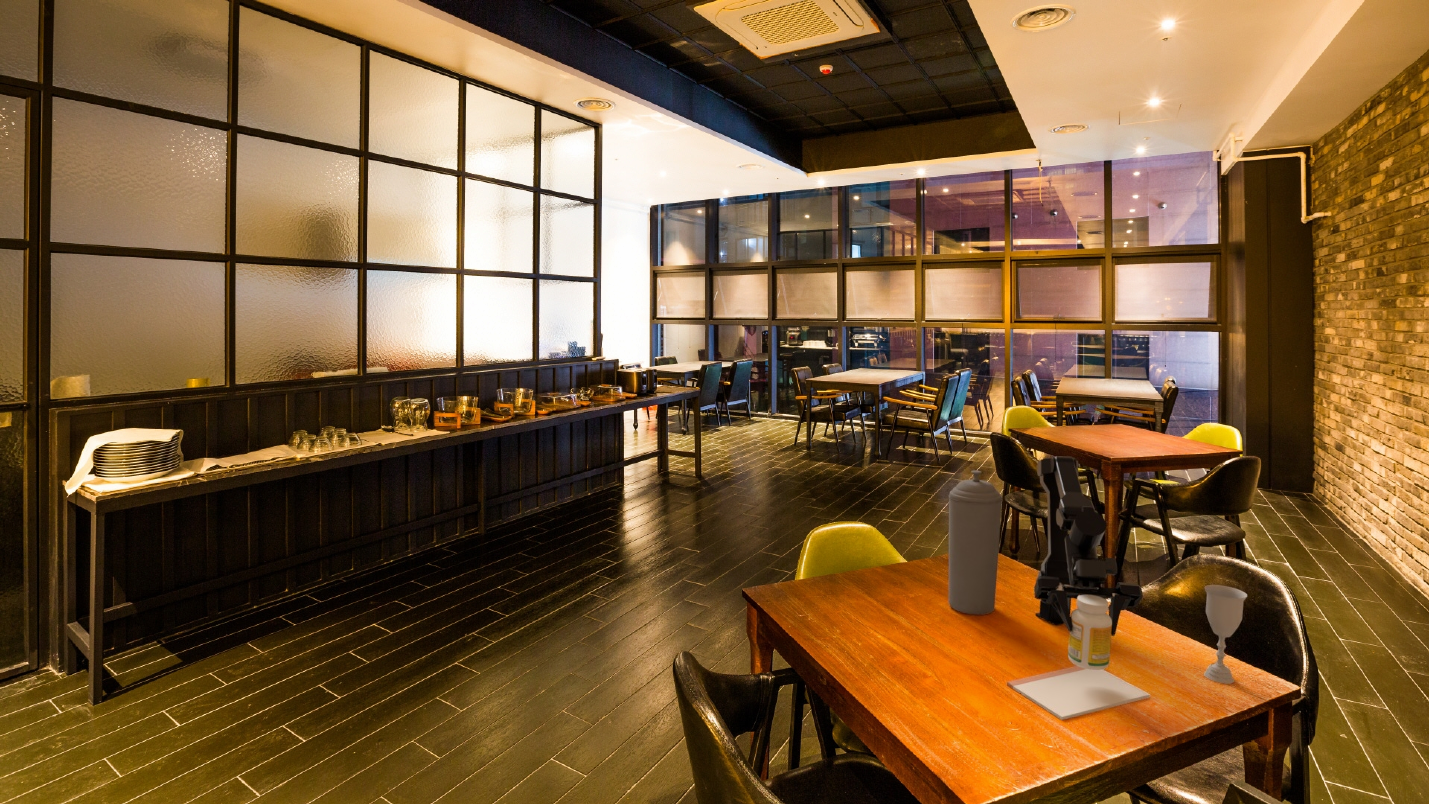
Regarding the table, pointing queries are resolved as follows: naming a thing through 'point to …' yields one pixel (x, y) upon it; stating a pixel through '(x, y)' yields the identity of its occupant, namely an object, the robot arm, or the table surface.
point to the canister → (973, 545)
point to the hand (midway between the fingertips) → (1091, 633)
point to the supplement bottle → (1090, 633)
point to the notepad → (1077, 691)
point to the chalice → (1223, 624)
